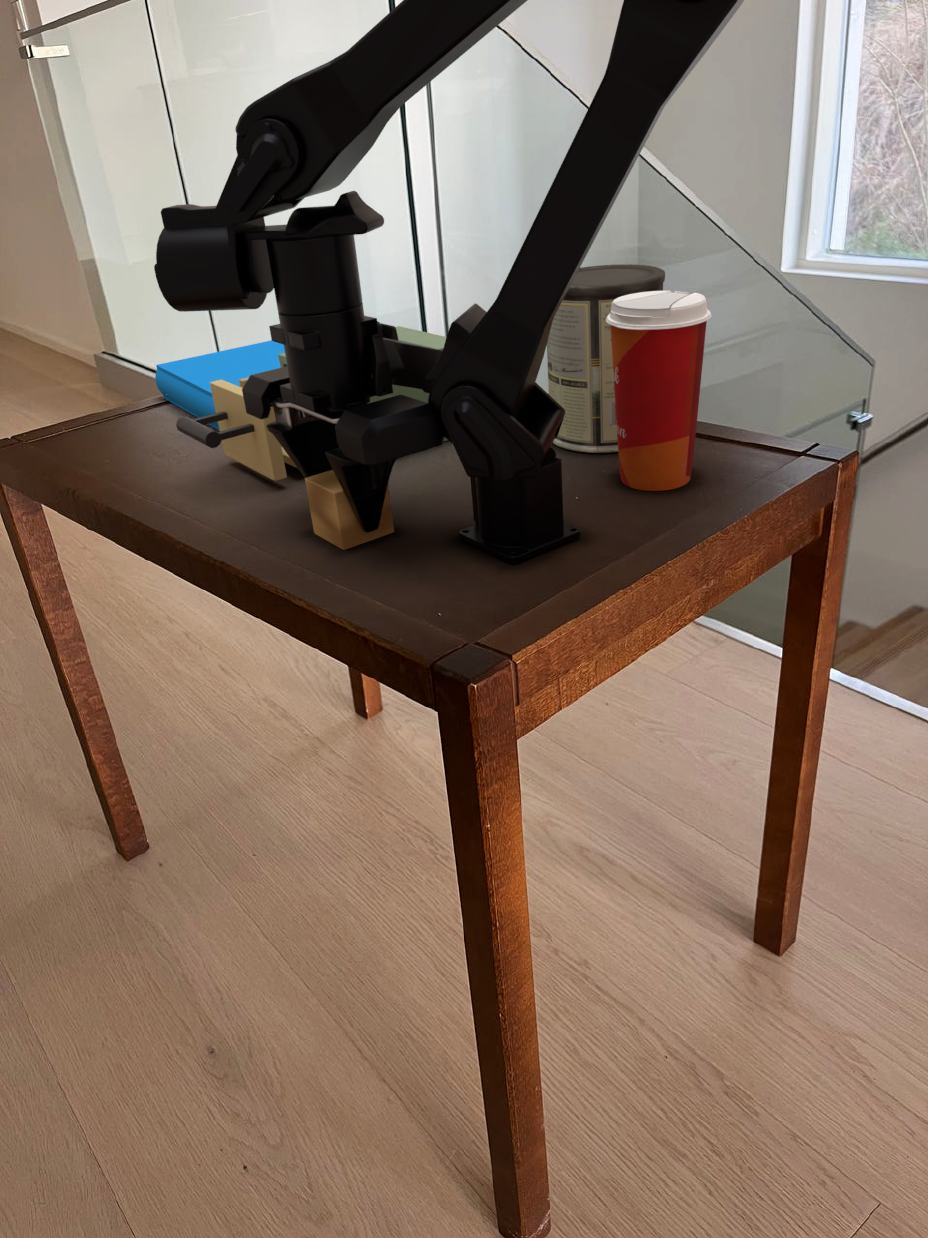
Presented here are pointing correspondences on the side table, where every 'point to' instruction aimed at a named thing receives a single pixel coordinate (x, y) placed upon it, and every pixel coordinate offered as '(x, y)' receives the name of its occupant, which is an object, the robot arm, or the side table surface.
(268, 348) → the book
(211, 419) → the drawer
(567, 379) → the coffee can
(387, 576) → the side table surface
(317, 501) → the block
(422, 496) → the side table surface
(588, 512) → the side table surface
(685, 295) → the paper cup
